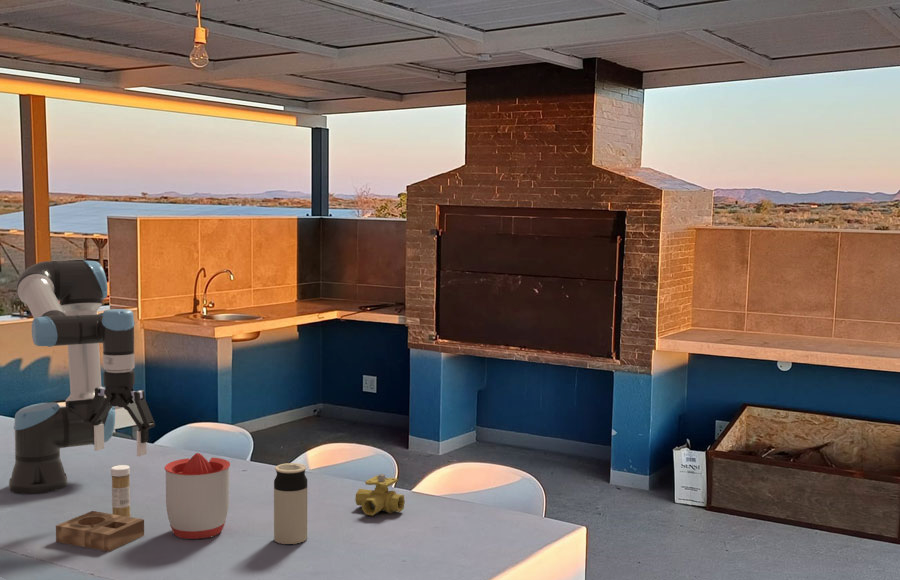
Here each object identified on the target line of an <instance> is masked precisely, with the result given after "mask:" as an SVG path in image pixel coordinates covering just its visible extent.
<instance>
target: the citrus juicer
mask: <svg viewBox="0 0 900 580" xmlns="http://www.w3.org/2000/svg"><path fill="white" fill-rule="evenodd" d="M230 466H231V462H230V461H229V460H226V459H223V458H220V457H211V458H210V459H209V461H208V460H207V458H206V457H204V455H202V454H201V453H199V452H196V453H195V454H194V455H193V456H192V457H190V458H181V459H176V460H173V461H171V462H169V463H167V464H166V465H164V471H165V504H166V505H165V506H166V513H167V517H168V518H167V519H168V521H169V526H170V528H171V531H172V533H173V535H175V536H176V537H178V538H179V537H180V538H179V539H182V538H184V539H187V540H188V539H190V540H193V539H195V540H196V539H197V540H198V539H207V538H212V537H211V536H213V537H215V536H216V535H218V534H220V533H221V532H222V530H223V529H224V526H225V524H226V521H227V520H226V519H227V516H228V512H229V505H230Z"/></svg>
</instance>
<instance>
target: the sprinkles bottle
mask: <svg viewBox="0 0 900 580" xmlns="http://www.w3.org/2000/svg"><path fill="white" fill-rule="evenodd" d="M130 469H131V468H130V466H129V465H127V464H120V465H115V466H112V467H111V468H110V475H111V506H112V514H114V515H120V516H126V517H131V515H132V514H131V496H130V495H131V491H130V488H131V486H130V475H131V474H130V473H131V470H130Z"/></svg>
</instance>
